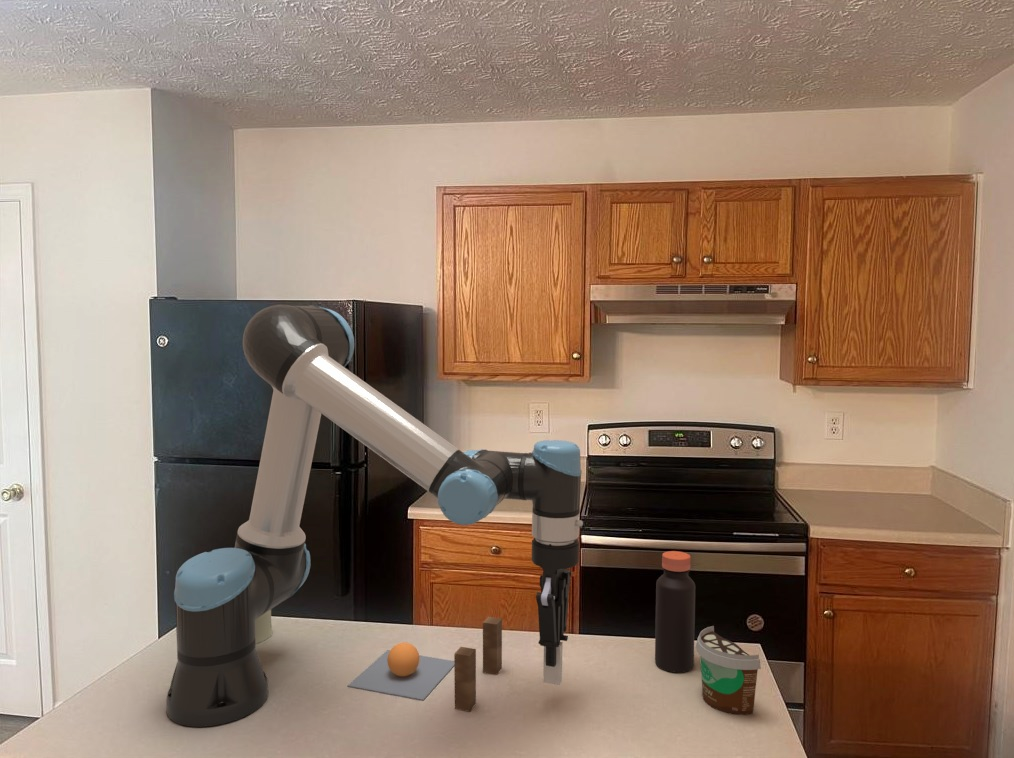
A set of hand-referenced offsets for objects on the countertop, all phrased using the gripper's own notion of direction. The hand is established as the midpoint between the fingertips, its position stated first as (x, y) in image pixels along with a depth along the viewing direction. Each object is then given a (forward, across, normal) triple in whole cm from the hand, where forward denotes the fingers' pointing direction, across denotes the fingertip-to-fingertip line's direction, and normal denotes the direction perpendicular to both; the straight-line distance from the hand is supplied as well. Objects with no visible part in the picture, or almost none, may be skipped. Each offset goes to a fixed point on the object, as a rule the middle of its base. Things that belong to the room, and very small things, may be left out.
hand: (552, 681), depth 116 cm
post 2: (+3, +6, +13) cm, 14 cm away
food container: (+3, +8, -25) cm, 27 cm away
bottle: (+3, +19, -17) cm, 26 cm away
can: (+4, +4, +63) cm, 63 cm away
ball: (+1, 0, +27) cm, 27 cm away
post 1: (+3, -6, +13) cm, 14 cm away
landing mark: (+4, 0, +27) cm, 27 cm away
